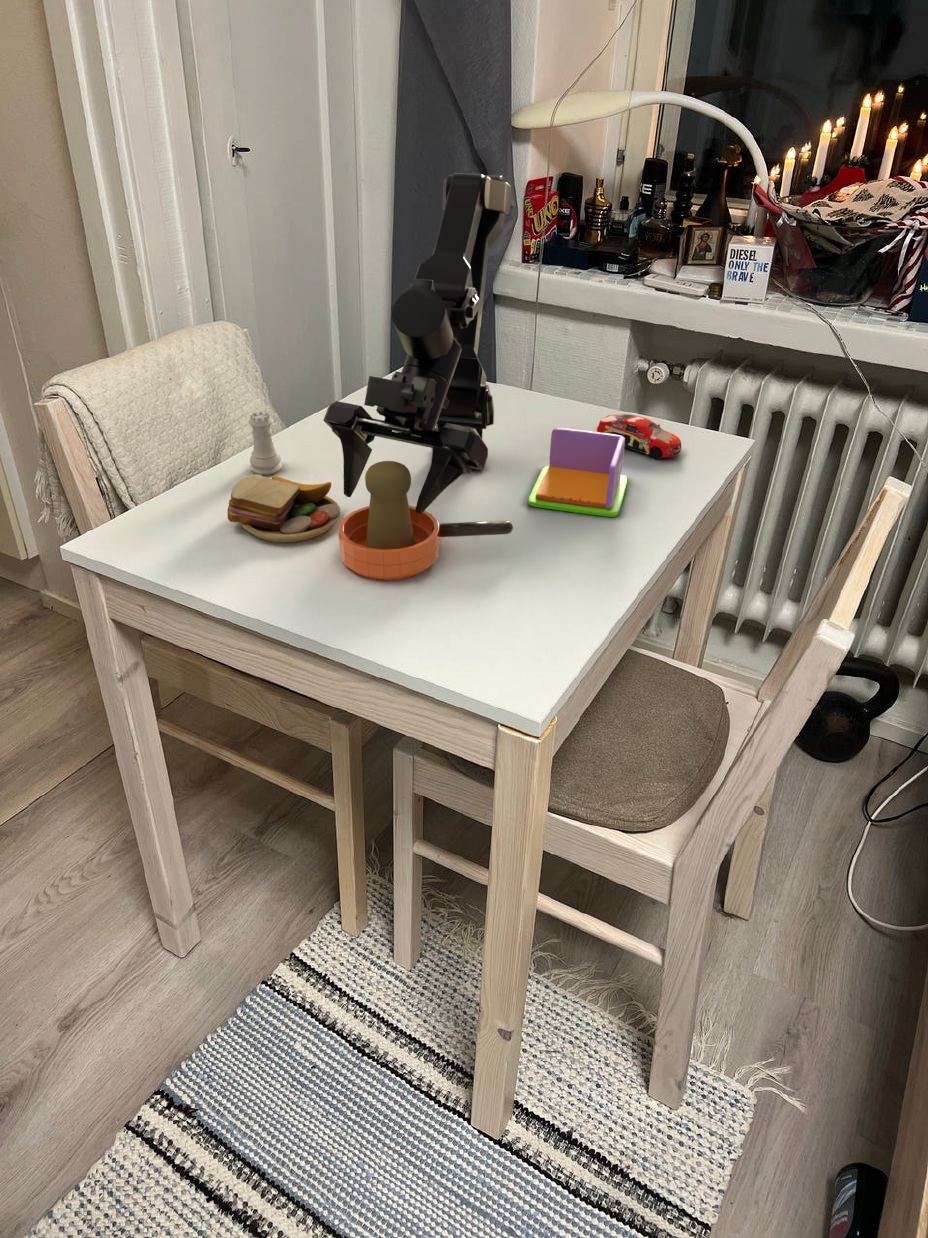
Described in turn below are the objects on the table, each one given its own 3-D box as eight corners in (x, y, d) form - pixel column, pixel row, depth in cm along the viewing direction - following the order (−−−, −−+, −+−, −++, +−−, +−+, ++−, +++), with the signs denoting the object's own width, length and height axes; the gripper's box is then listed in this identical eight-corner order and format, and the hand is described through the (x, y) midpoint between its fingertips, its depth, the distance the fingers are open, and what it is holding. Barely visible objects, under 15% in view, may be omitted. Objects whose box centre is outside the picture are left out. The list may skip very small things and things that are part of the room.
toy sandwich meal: (312, 554, 109) (308, 518, 106) (213, 534, 113) (208, 499, 110) (357, 508, 119) (355, 474, 116) (265, 491, 122) (261, 458, 120)
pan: (434, 530, 114) (434, 501, 112) (443, 579, 105) (443, 549, 102) (340, 534, 113) (338, 505, 111) (341, 584, 103) (338, 554, 101)
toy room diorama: (628, 479, 127) (634, 432, 123) (617, 518, 117) (623, 469, 113) (543, 468, 129) (546, 422, 125) (525, 506, 120) (528, 457, 116)
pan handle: (511, 529, 109) (512, 517, 109) (513, 536, 108) (514, 524, 107) (431, 533, 109) (431, 521, 108) (432, 540, 107) (432, 527, 106)
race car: (687, 453, 134) (691, 427, 132) (668, 465, 131) (672, 438, 129) (611, 428, 141) (614, 404, 139) (591, 439, 138) (593, 414, 136)
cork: (424, 543, 110) (422, 459, 104) (404, 568, 105) (401, 481, 99) (378, 535, 112) (374, 451, 105) (356, 558, 107) (351, 472, 101)
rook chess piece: (286, 463, 130) (280, 409, 125) (277, 477, 126) (271, 421, 121) (255, 461, 130) (248, 407, 125) (246, 475, 126) (238, 420, 122)
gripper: (326, 330, 101) (278, 460, 99) (480, 356, 95) (432, 496, 93) (365, 378, 111) (323, 496, 109) (507, 404, 105) (464, 530, 103)
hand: (381, 504), depth 103 cm, fingers open, 9 cm apart
